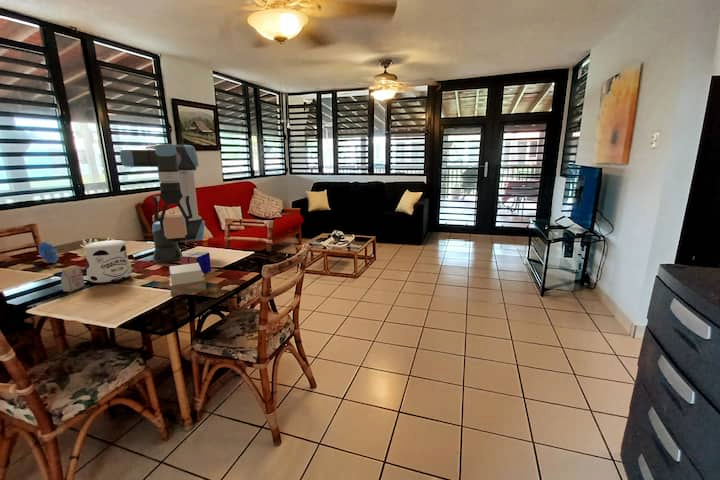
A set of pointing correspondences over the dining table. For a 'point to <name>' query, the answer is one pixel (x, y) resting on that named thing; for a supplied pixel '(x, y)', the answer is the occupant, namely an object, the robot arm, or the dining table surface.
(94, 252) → the milk container
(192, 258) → the puzzle cube
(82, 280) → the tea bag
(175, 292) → the tower base
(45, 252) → the blue thick disc
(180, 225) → the terracotta block
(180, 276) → the tower top
